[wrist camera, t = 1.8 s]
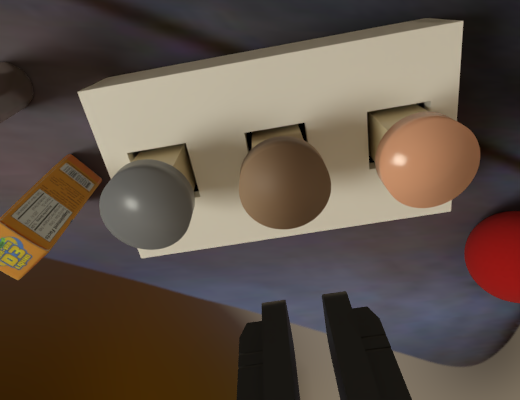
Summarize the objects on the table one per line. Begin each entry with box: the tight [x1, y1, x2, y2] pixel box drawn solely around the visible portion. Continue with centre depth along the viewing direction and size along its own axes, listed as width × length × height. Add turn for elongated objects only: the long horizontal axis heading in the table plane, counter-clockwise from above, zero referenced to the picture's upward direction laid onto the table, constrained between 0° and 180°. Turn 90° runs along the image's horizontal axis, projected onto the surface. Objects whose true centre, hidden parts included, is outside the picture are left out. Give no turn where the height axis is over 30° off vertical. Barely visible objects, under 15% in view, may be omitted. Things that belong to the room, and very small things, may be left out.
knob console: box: [77, 18, 463, 258], centre depth 26 cm, size 22×12×5 cm, turn 100°
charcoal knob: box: [99, 143, 196, 250], centre depth 23 cm, size 5×5×6 cm
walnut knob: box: [239, 124, 331, 229], centre depth 23 cm, size 5×5×6 cm
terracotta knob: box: [367, 104, 480, 208], centre depth 22 cm, size 5×5×6 cm
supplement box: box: [0, 154, 102, 280], centre depth 26 cm, size 3×3×10 cm
